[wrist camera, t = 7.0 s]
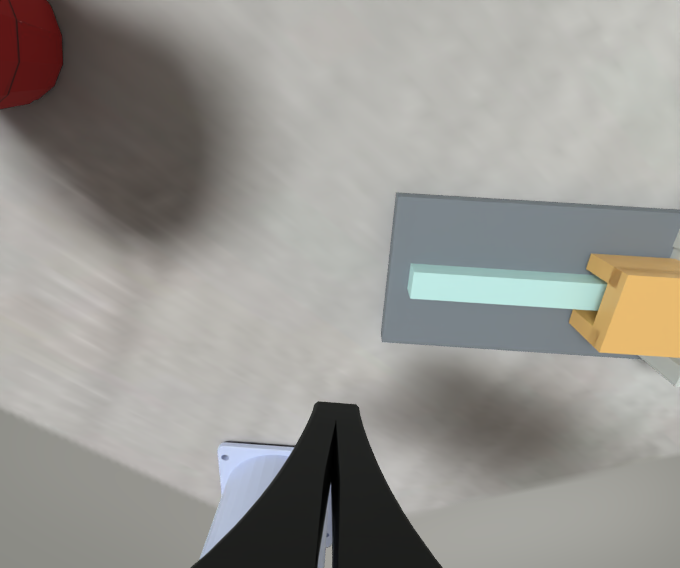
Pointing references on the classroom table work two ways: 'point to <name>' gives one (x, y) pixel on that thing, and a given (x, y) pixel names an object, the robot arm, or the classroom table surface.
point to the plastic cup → (28, 51)
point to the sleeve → (634, 306)
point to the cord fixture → (511, 271)
